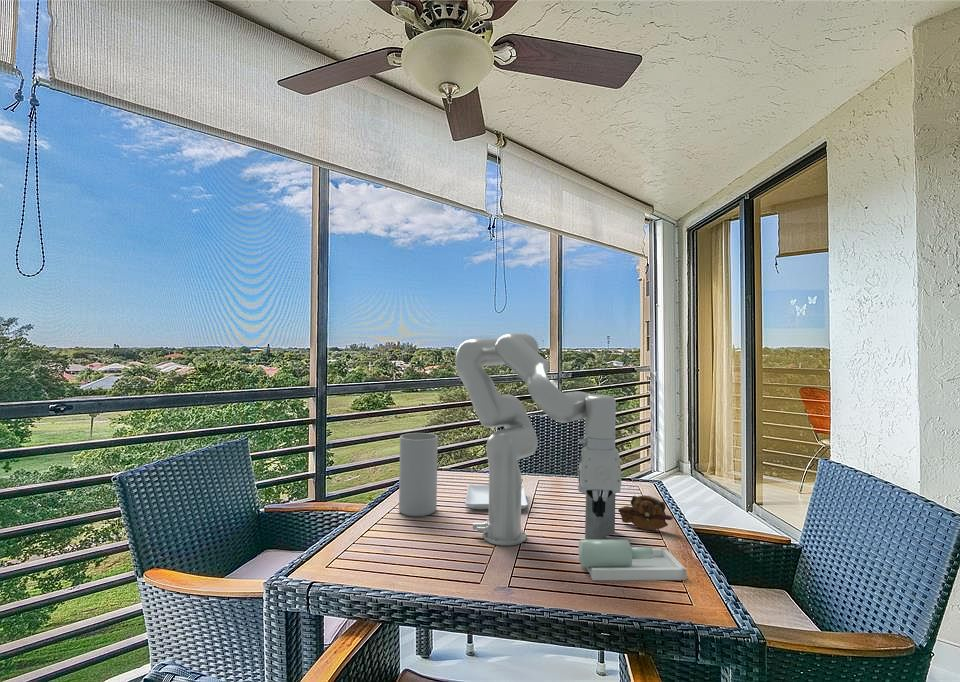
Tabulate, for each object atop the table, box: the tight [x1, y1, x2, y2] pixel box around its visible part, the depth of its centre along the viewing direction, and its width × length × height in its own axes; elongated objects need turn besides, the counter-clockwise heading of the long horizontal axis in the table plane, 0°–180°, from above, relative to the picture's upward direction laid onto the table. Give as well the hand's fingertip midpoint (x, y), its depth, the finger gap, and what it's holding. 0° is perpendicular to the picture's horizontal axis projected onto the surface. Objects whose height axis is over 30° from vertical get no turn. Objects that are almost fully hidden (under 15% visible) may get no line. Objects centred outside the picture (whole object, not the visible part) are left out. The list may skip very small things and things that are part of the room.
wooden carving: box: [618, 495, 675, 531], centre depth 158 cm, size 16×5×10 cm, turn 64°
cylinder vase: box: [398, 432, 439, 518], centre depth 171 cm, size 12×12×25 cm
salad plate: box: [464, 484, 529, 511], centre depth 181 cm, size 21×21×3 cm
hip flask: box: [584, 490, 616, 540], centre depth 150 cm, size 16×4×20 cm, turn 142°
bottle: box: [578, 539, 653, 568], centre depth 130 cm, size 6×6×18 cm
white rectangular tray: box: [585, 547, 688, 581], centre depth 130 cm, size 23×13×2 cm, turn 93°
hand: (598, 515), depth 130 cm, fingers closed
